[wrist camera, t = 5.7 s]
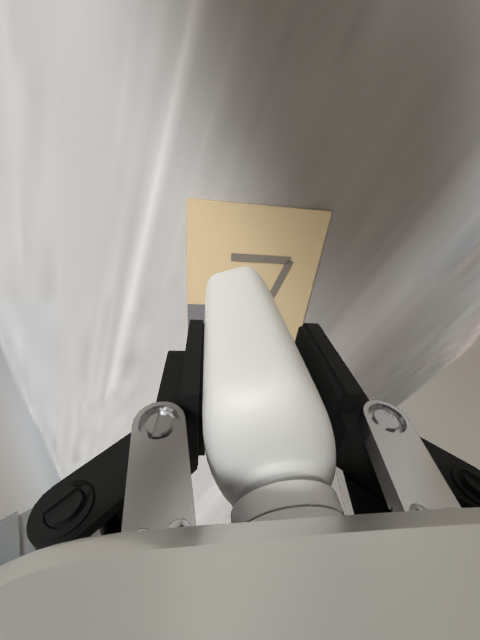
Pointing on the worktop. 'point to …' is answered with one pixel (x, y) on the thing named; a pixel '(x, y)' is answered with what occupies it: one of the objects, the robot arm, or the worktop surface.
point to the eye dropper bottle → (262, 408)
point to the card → (255, 251)
